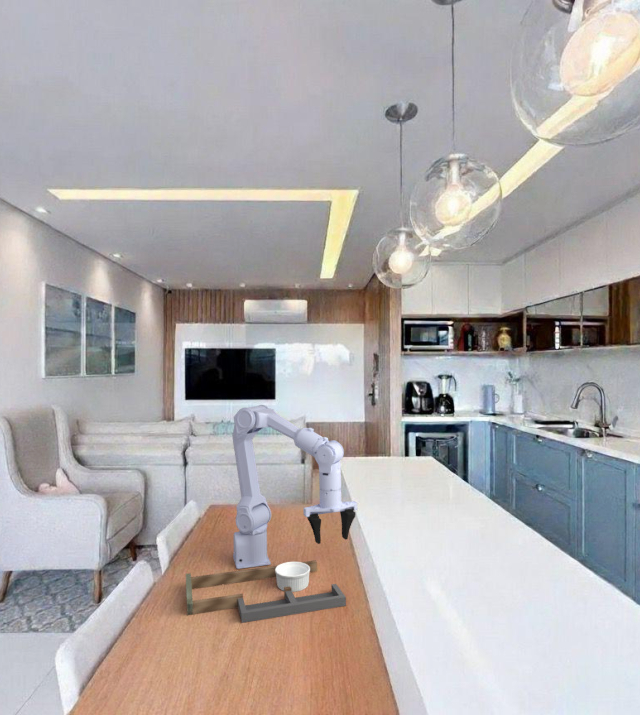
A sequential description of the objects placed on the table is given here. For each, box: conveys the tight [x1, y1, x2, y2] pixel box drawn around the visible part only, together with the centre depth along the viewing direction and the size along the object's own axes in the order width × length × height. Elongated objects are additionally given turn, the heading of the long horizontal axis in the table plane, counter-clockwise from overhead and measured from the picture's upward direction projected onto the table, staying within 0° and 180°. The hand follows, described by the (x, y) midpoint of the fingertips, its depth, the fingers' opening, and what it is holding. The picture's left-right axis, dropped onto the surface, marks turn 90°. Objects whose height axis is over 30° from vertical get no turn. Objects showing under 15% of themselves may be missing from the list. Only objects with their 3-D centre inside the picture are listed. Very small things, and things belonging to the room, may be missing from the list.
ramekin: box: [275, 561, 311, 593], centre depth 126 cm, size 9×9×4 cm
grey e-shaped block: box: [237, 583, 347, 624], centre depth 115 cm, size 24×7×2 cm, turn 106°
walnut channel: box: [185, 559, 318, 616], centre depth 123 cm, size 34×14×4 cm, turn 106°
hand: (331, 540), depth 130 cm, fingers open, 7 cm apart
